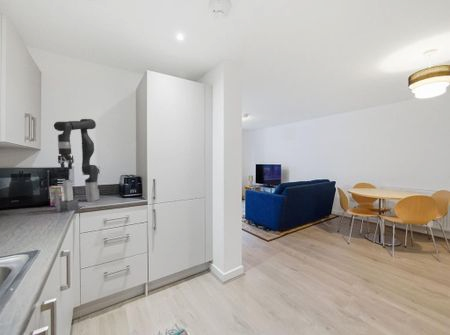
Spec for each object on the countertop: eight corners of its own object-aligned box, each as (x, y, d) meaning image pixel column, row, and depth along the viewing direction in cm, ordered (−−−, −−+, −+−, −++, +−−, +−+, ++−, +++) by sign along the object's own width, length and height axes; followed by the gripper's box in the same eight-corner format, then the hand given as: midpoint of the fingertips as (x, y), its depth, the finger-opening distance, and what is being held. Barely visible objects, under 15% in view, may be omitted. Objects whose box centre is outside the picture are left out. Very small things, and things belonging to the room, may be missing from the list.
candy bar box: (49, 206, 163) (48, 187, 162) (55, 204, 168) (54, 185, 167) (62, 206, 162) (60, 187, 161) (67, 204, 167) (65, 186, 166)
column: (70, 199, 155) (69, 179, 154) (74, 199, 154) (72, 180, 153) (63, 201, 151) (61, 180, 149) (67, 201, 149) (65, 181, 148)
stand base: (73, 206, 162) (72, 198, 161) (84, 207, 157) (84, 199, 157) (53, 211, 149) (52, 202, 148) (65, 212, 144) (64, 203, 143)
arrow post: (62, 210, 149) (60, 190, 148) (64, 211, 148) (62, 190, 147) (55, 212, 145) (53, 191, 144) (57, 212, 144) (55, 191, 143)
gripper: (76, 147, 150) (77, 168, 152) (64, 148, 155) (65, 168, 156) (65, 147, 143) (67, 169, 145) (53, 148, 148) (54, 169, 149)
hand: (66, 168), depth 150 cm, fingers open, 8 cm apart
